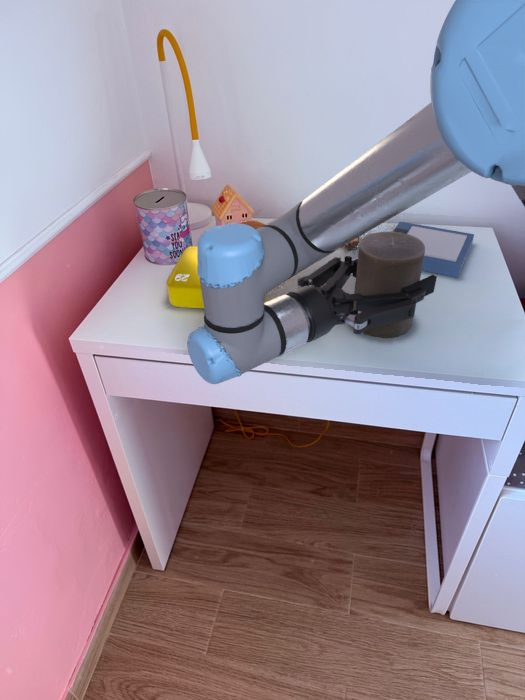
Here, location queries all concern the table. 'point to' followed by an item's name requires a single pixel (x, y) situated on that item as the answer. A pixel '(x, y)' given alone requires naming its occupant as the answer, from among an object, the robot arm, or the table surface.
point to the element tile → (185, 281)
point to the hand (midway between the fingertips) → (407, 269)
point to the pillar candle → (388, 272)
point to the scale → (440, 247)
